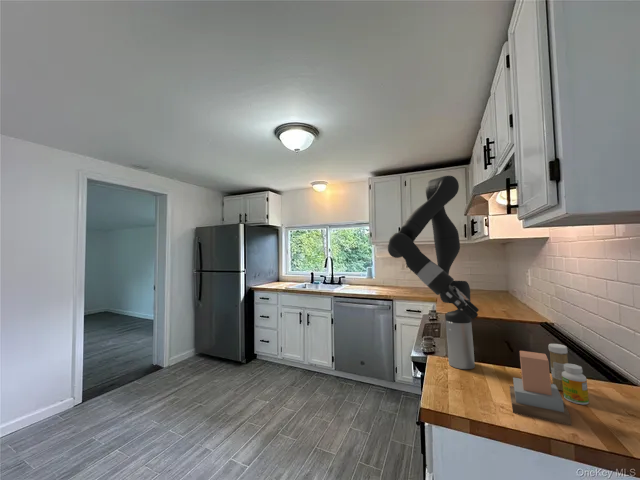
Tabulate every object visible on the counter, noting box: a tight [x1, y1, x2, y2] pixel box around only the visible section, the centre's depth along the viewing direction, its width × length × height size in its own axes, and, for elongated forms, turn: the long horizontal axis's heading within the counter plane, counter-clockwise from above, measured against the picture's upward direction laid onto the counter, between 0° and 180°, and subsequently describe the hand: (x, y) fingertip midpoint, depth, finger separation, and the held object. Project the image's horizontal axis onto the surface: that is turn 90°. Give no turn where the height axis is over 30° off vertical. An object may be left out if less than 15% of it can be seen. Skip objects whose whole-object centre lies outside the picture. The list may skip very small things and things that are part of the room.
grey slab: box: [512, 377, 564, 412], centre depth 76 cm, size 10×10×3 cm
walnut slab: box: [509, 385, 572, 426], centre depth 76 cm, size 12×12×3 cm
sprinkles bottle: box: [547, 343, 569, 392], centre depth 86 cm, size 5×5×13 cm
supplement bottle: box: [562, 363, 590, 406], centre depth 79 cm, size 5×5×10 cm
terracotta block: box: [519, 350, 552, 395], centre depth 76 cm, size 6×6×9 cm
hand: (476, 314), depth 85 cm, fingers open, 8 cm apart
